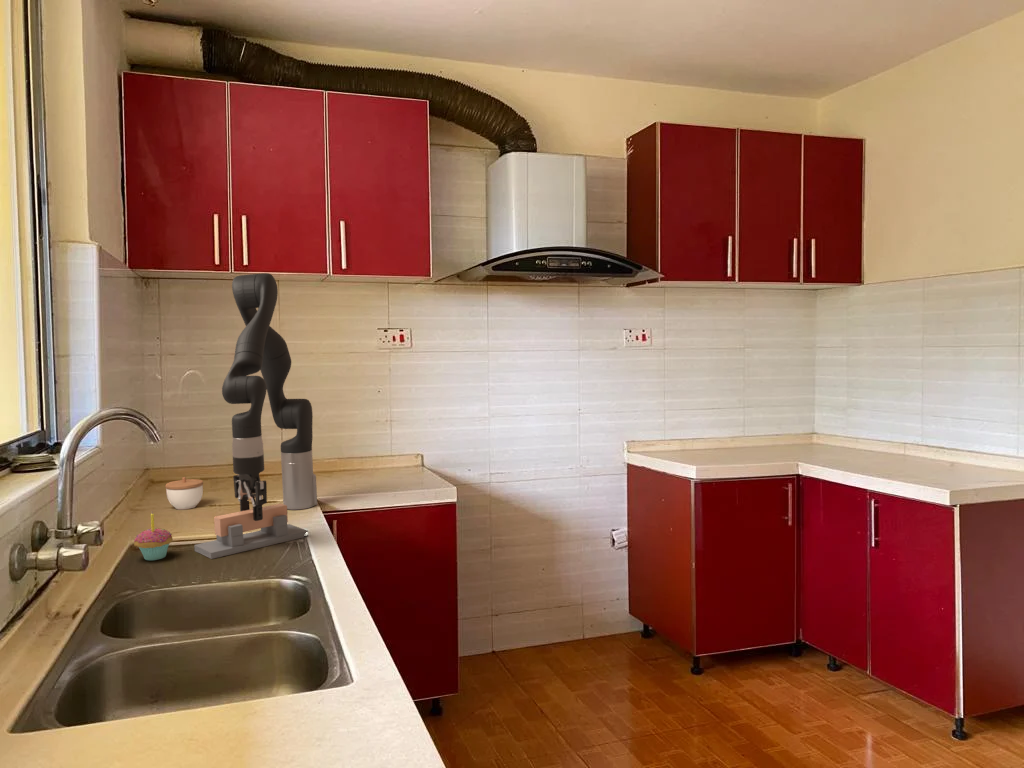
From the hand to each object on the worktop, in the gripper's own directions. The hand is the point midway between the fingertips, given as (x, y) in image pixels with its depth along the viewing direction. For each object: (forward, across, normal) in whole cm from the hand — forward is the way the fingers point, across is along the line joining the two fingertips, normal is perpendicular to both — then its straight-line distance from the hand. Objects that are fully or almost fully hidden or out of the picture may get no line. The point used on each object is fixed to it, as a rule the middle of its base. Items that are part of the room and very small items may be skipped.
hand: (251, 517), depth 200 cm
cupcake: (+7, +7, +22) cm, 24 cm away
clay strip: (+3, 0, 0) cm, 3 cm away
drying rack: (+7, 0, 0) cm, 7 cm away
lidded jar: (+7, +54, -4) cm, 55 cm away
